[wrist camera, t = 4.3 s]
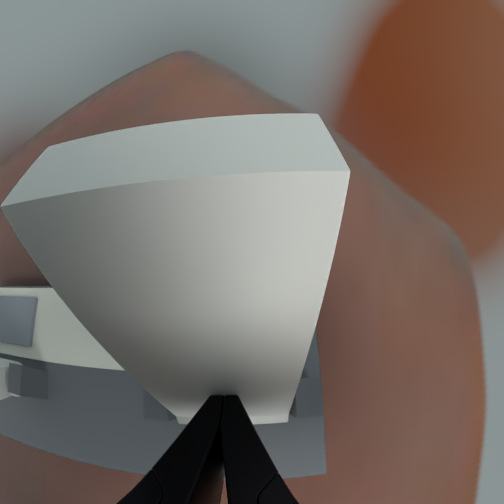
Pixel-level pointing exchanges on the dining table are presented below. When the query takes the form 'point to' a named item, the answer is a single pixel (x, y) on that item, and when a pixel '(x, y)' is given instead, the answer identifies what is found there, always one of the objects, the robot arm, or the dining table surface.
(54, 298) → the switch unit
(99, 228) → the white switch lever
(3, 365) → the lever slate
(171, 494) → the robot arm
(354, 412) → the dining table surface
